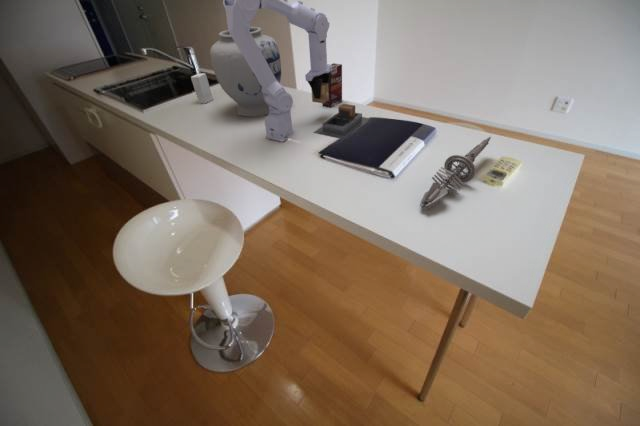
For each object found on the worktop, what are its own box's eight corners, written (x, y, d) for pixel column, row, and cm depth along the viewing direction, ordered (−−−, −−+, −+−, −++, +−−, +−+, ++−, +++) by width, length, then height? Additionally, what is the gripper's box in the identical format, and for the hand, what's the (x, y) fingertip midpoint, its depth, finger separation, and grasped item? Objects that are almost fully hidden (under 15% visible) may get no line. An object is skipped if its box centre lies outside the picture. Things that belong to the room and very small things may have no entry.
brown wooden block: (350, 125, 105) (350, 109, 101) (338, 123, 107) (337, 107, 103) (355, 121, 107) (355, 105, 104) (343, 119, 110) (343, 103, 106)
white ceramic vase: (277, 122, 114) (263, 34, 95) (215, 121, 118) (190, 37, 99) (292, 99, 134) (283, 22, 115) (239, 99, 139) (221, 26, 119)
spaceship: (511, 135, 77) (486, 118, 79) (446, 208, 61) (416, 185, 63) (492, 155, 84) (469, 139, 86) (429, 225, 68) (402, 204, 70)
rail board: (345, 142, 97) (345, 132, 95) (313, 135, 103) (312, 125, 101) (370, 120, 109) (371, 111, 107) (340, 115, 115) (340, 106, 113)
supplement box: (331, 110, 120) (330, 69, 110) (322, 108, 123) (320, 68, 113) (343, 103, 125) (342, 64, 115) (333, 102, 128) (332, 62, 118)
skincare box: (206, 99, 142) (198, 72, 134) (214, 99, 141) (206, 73, 133) (198, 103, 138) (189, 76, 130) (206, 104, 136) (197, 76, 128)
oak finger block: (323, 103, 105) (322, 86, 101) (312, 101, 107) (311, 84, 103) (329, 100, 108) (328, 83, 104) (317, 98, 110) (316, 81, 106)
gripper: (316, 61, 91) (319, 104, 100) (338, 51, 100) (339, 91, 109) (298, 59, 94) (302, 101, 103) (321, 50, 104) (323, 89, 112)
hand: (320, 96), depth 106 cm, fingers closed on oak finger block, 4 cm apart
